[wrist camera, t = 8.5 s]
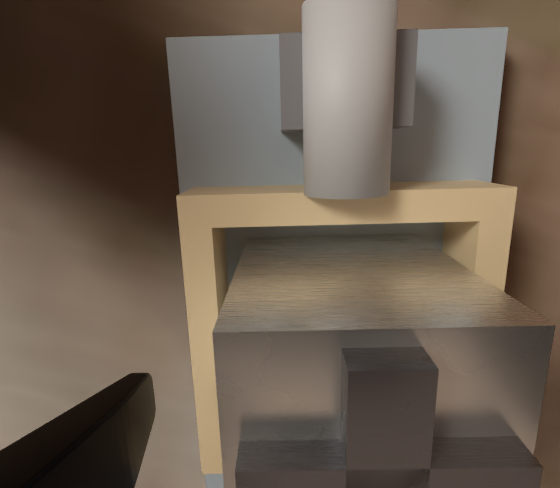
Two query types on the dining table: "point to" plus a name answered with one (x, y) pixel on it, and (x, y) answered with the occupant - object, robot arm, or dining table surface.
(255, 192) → the shaft bench
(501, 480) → the block
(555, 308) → the dining table surface
